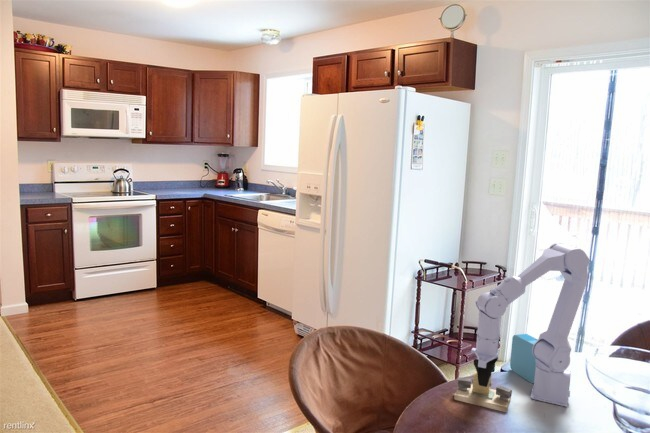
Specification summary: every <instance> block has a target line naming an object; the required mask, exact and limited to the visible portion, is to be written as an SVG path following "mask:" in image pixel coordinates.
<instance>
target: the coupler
mask: <svg viewBox="0 0 650 433" xmlns="http://www.w3.org/2000/svg"><path fill="white" fill-rule="evenodd" d="M471 384H472V385H473V388H472V392H475V393H479V394H484V395H488V396H489V393H490V389H491V388H492V373H491V374H490V378H489V382H488V385H487V387H484V386H480V385H479V383H478V375H477V371H476V370H475V371H474V373H473V377H472V380H471Z"/></svg>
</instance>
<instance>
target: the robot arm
mask: <svg viewBox="0 0 650 433" xmlns="http://www.w3.org/2000/svg"><path fill="white" fill-rule="evenodd" d="M590 261H591V260H590V258H589V257H588V255H587V253H586V252H585V251H584V250H583V249H581V248H576V247H573V246H569V245H568V244H564V243H561V242H555V243H553V244H551V245H550V246H549V247H547V248H546V249H544V250H543V253H542V255H540V256H539V257H538V258H536V260H534V262H532V263H531V264H530V265H529V266H527V267H526V269H523V271H522V272H521V273H520V274H518V275H517V276H514V275H510V276H506V277H504V278H503V279H502V280H503V281H502V282H501V283H499V284H498V285H496V286H495V287H494V288H490V290H489V291H488V292H483V293H481V294H480V295H479V296H478V298H477V300H475V306H476V308H477V310H478V319H477V320H478V322H477V334H476V347H472V348H471V353H473V354H475V356H476V358H474V359H473V365H474V368H475V371H477V375H478V383H479V385H480V386H484V387H487V385H488V382H489V378H490V374H491V375H492V372H493V370H494V369H495V367H496V363H497V362H498V360H499V352H498V351H499V350H498V349H499V340H500V338H499V337H500V328H501V316H504V315H505V312H506V311H507V308H508V307H509V305H510V304H512V303H513V302H515V301H516V300H517V299H519V297H521V296H522V295H524V294H525V292H526V287H528V286H529V285H530V284H532V283H533V282H535V281H536V280H538V279H539V278H541V277H542V276H544V275H545V274H548V273H549V272H553V271H554V272H560V275H562V277H563V279H564V281H563V284H562V286H561V289H560V292H559V294H558V299H557V301H556V304H555V306H554V309H553V312H552V315H551V318H550V322H549V323H548V327H547V330H546V331H544V332H542V333H540V334H539V337H538V339H537V341H536V342H535V343H534V345H533V347H532V353H533V355H534V357H535V358H536V360H535V362H536V368H535V378H534V384H533V386H532V387H531V388H532V389H531V394H530V399H532V400H535V401H541V402H545V403H547V404H548V403H550V404H553V405H557V406H562V407H566V408H567V407H568V404H569V398H570V396H571V390H570V385H571V376H572V375H571V374H572V372H571V371H570V370H567V369H568V368H569V366H570V364H571V352H572V347H571V344H570V343H569V342H570V341H569V340H568V337H569V335H570V331H571V330H572V326H573V323H574V321H575V318H576V315H577V311H578V309H579V306H580V304H581V301H582V298H583V294H584V292H585V289H586V286H587V283H588V280H589V276H588V275H589V274H588V273H589V272H588V267H589V264H590Z"/></svg>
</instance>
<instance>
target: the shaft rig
mask: <svg viewBox="0 0 650 433" xmlns="http://www.w3.org/2000/svg"><path fill="white" fill-rule="evenodd" d="M456 385H457V389H456V391H455V392H454V398H453V399H454V400H455V401H459V402H463V403H467V404H471V405H476V406H480V407H484V408H487V409H490V410H496V411H499V412H503V413H508V410H509V406H510V402H511V399H512V394H513V389H512V388H509V387H506V386H504V385H500V384H498V385H497V386H496V388H495V389H494V388H490V393H489V396H488V395H484V394H479V393H475V392H472V388H473V383H472V379H471V378H467V377H459V376H458V377H457V380H456Z"/></svg>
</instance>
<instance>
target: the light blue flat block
mask: <svg viewBox="0 0 650 433" xmlns="http://www.w3.org/2000/svg"><path fill="white" fill-rule="evenodd" d="M537 340H538V339H537V338H535V337H533V336H532V335H530V334H528V333H521V334H514V335H513V336H512V339H511V349H510V350H511V352H510V362H509V366H510V370H511V371H512V372H514V373H515V374H517V375H518V376H519V377H522V378H523V379H525V380H526V381H528V382H530V383H531V384H533V385H534V378H535V368H536V362H535V360H536V358H535V357H534V355H533V353H532V347H533V345H534V343H535V342H536V341H537Z"/></svg>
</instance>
